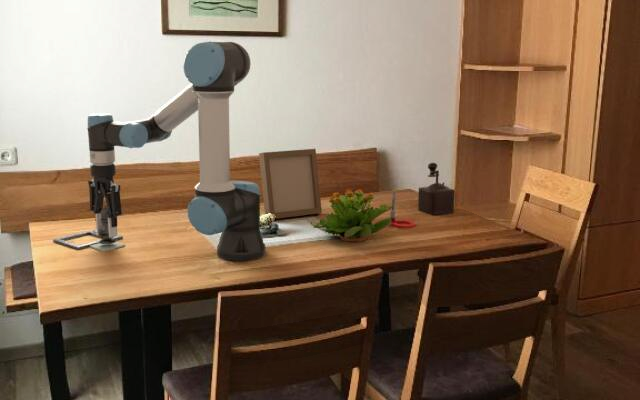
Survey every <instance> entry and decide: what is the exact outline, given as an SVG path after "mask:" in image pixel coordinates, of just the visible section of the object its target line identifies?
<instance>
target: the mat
mask: <svg viewBox="0 0 640 400" xmlns="http://www.w3.org/2000/svg"><path fill="white" fill-rule="evenodd" d="M122 247H126V244H124V243H121V242H117V241H116V242H115V243H112V244H100V243H98V244H94V245H91V246H90V247H89V248H92V249H95V250H98V251H100V252H103V253H105V252H108V251H112V250H117V249H119V248H122Z"/></svg>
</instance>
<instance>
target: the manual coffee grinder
mask: <svg viewBox="0 0 640 400" xmlns="http://www.w3.org/2000/svg"><path fill="white" fill-rule="evenodd" d="M427 168H428V170H429V174H428V175H427V177H428V178H435V182H434V183H432V184H430V185H428V186H422V187H418V198H417V199H418V201H417V203H418V205H417V206H418V208H417V209H418V211H420V212H422V213H423V214H424V213H425V214H428V215H430V216H442V215H443V216H444V215H448V214H454V213H455V211H454V209H455V193H456V192H455V191H456V190H455V189H452V188H450V187H449V186H448V185H445V182H442V183H440V182H439V176H440V172H439V169H438V170H437V168H438V164H437V163H435V162H430V163H428V165H427Z"/></svg>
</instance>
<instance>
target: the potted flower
mask: <svg viewBox="0 0 640 400" xmlns="http://www.w3.org/2000/svg"><path fill="white" fill-rule="evenodd" d="M352 191H353V189H349V188H348V189H347V190H346V191H345V192H344V193H345V195H342V194H340V193H339V192H334V193H333V195H332V196H329V201H328V202H329V203H330V208H332V211H331V213H330V214H329V213H328V214H327V215H326V216H325V219H320V220H319V222H317V223H316V224H314V223H313V222H312V221H310V222H309V224H311V226H312V228H314V229H319V230H320V231H324V232H325V233H327V234H330V235H333V236H339V239H340V240H342V241H345V242H353V243H354V242H355V243H356V242H357V243H359V242H364V241H366V240H367V239H368V237H369V236H370V235H372V234H375V233H378V232H380V231H381V230H383V229H384V228H386V227H387V226H388V224H389V223H390V222H391V220H392V219H391V218H390V217H388V218H383V219H381V220H379V221H378V222H375V223H374V224H373V223H372V222H373V221H374V220H375V219H377V218H378V217H380V216H381V215H382V214H384V213H386V212H388V211H391V209H392V207H393V206H392V205H391V206H390V205H387V204H380V205H379V208H378V207H375V208H374V207H373V206H372V205H371V203H370V202H371V201H372V200H374V199H375V195H374V193H372V192H369V193H367V194H365V195H364V192H363V190H362V189H357V190H355V191H354V192H352ZM354 194H355V196H354Z"/></svg>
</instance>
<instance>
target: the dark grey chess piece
mask: <svg viewBox="0 0 640 400" xmlns="http://www.w3.org/2000/svg"><path fill="white" fill-rule="evenodd" d="M108 216H109V212H108V208H107V205H104V207H103V208H102V210H101V219H100V221H101V225H102V226H101V229H100V230H98V231H97V233H98V235H99V237H100V238H99V237H98V238H99V239H100V241H99V240H98V241H99V243H100V244H112V243H115V242H117V240H114V239H112V238H113V237H111V238H110V237H109V229H108Z"/></svg>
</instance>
